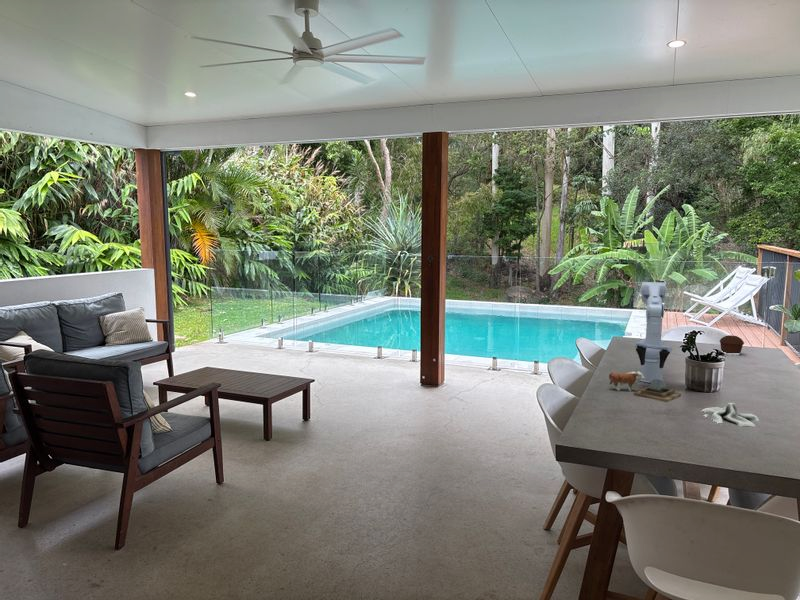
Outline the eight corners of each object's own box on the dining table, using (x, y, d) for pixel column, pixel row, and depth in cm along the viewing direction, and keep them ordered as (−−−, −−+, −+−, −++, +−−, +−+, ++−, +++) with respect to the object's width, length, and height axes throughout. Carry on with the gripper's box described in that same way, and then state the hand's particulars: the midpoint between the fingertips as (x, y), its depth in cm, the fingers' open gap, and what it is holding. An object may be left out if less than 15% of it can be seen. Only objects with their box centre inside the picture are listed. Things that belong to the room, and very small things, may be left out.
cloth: (703, 408, 211) (704, 391, 211) (763, 417, 200) (764, 400, 199) (690, 423, 194) (691, 405, 193) (755, 434, 183) (756, 415, 182)
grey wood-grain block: (655, 391, 229) (655, 378, 229) (665, 393, 226) (666, 380, 226) (649, 393, 226) (650, 380, 225) (660, 395, 223) (660, 382, 222)
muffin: (716, 354, 310) (718, 336, 309) (720, 351, 319) (721, 333, 318) (742, 357, 303) (743, 338, 302) (745, 354, 311) (746, 335, 310)
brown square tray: (647, 389, 235) (648, 384, 235) (680, 395, 226) (681, 390, 226) (633, 395, 226) (634, 389, 226) (667, 401, 217) (667, 396, 217)
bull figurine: (644, 392, 230) (645, 372, 229) (609, 390, 233) (610, 370, 232) (642, 389, 234) (643, 370, 233) (607, 388, 237) (608, 368, 236)
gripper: (631, 332, 236) (630, 364, 237) (668, 336, 225) (666, 370, 227) (639, 330, 241) (637, 362, 242) (675, 334, 230) (673, 368, 232)
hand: (651, 366), depth 235 cm, fingers open, 7 cm apart
